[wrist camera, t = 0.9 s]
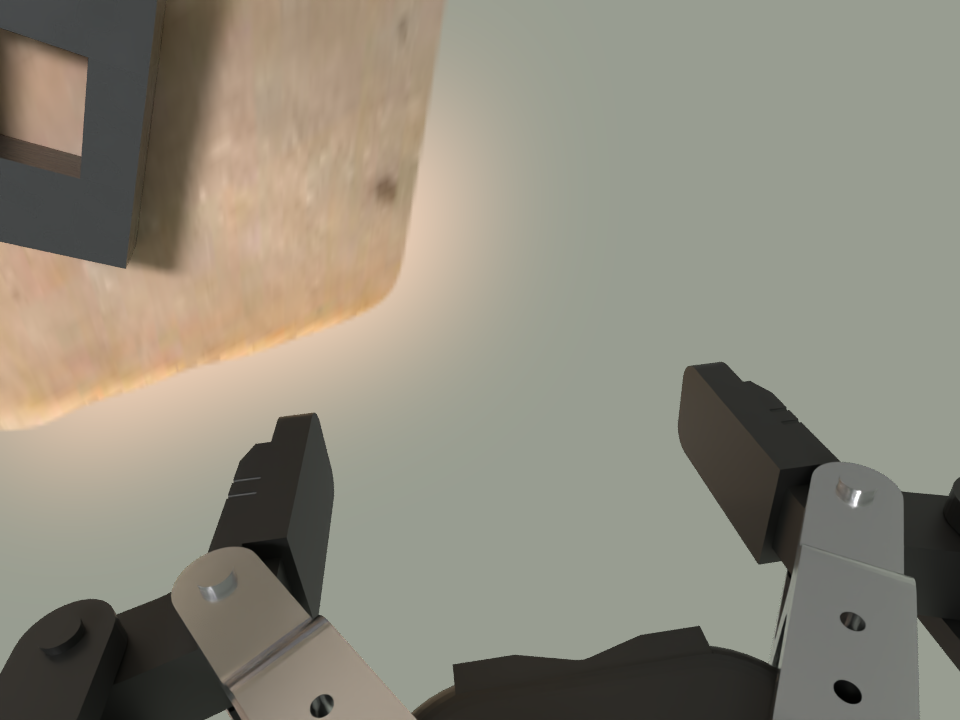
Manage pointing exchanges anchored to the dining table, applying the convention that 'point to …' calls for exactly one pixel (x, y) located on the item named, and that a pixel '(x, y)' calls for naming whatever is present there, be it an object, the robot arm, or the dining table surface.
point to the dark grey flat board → (86, 132)
